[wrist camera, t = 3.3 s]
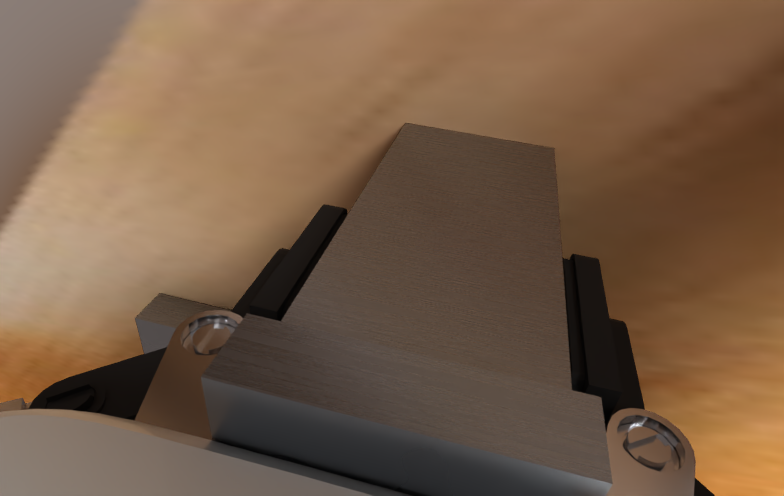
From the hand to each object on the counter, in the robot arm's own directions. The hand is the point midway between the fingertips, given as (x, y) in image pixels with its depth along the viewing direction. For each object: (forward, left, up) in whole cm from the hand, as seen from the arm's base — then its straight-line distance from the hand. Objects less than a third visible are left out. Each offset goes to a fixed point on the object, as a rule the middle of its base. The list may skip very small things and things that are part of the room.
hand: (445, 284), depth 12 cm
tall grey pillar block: (0, 0, -3) cm, 3 cm away
